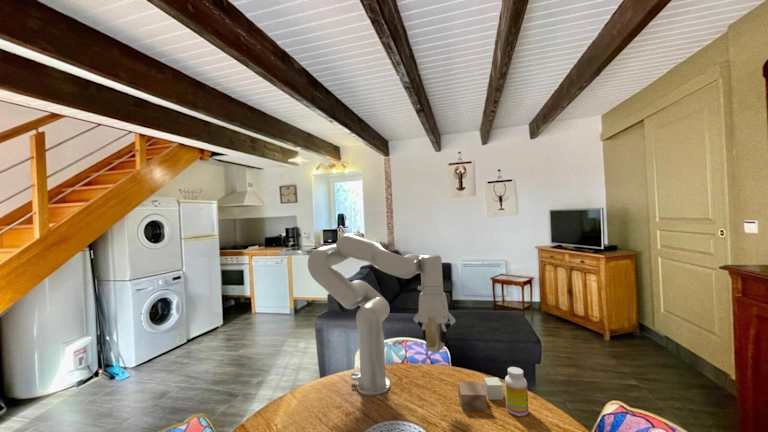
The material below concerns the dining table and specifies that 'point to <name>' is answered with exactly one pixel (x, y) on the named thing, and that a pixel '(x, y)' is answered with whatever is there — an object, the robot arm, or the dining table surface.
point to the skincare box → (433, 335)
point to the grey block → (493, 388)
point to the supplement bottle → (516, 392)
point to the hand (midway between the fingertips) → (435, 340)
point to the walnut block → (472, 395)
